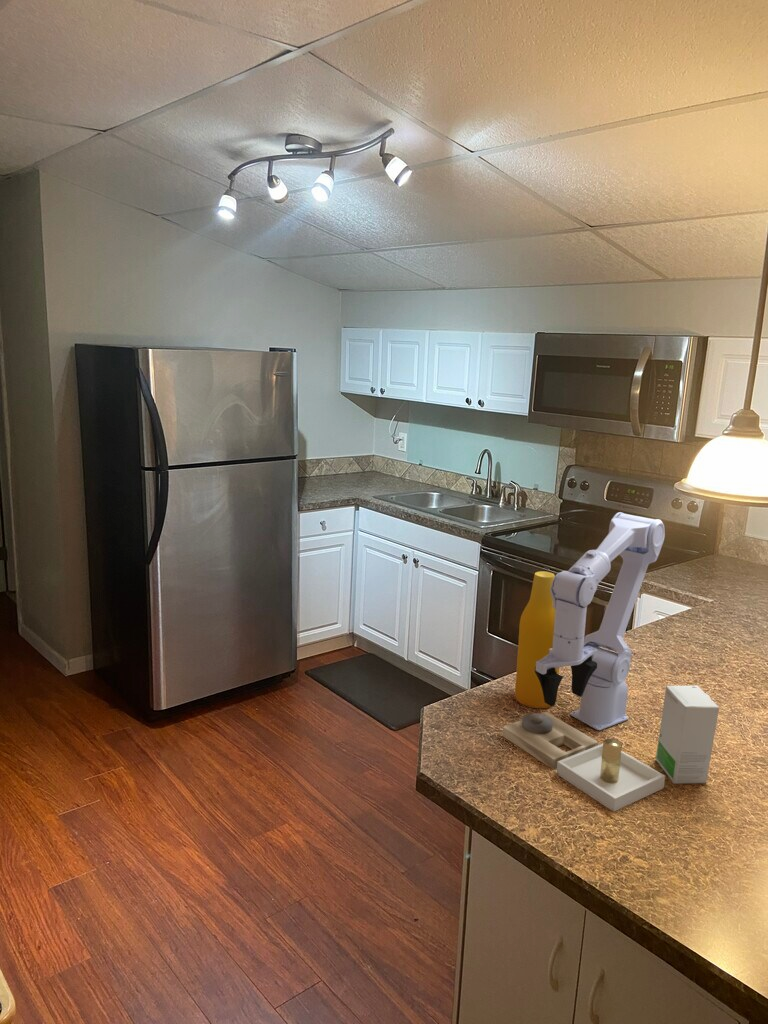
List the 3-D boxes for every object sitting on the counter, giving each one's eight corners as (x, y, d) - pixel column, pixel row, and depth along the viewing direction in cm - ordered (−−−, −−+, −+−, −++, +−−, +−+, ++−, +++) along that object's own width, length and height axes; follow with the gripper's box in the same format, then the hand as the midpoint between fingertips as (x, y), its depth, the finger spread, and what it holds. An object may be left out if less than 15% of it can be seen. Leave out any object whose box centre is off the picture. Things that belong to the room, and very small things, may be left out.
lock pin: (604, 771, 137) (607, 736, 135) (621, 777, 134) (624, 742, 133) (597, 778, 134) (600, 743, 133) (613, 785, 132) (617, 749, 131)
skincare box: (654, 759, 142) (663, 684, 138) (688, 759, 142) (697, 683, 139) (674, 785, 134) (684, 705, 130) (710, 784, 134) (720, 705, 130)
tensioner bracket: (545, 720, 156) (546, 702, 155) (597, 751, 144) (599, 732, 143) (502, 735, 149) (503, 717, 148) (553, 769, 138) (554, 749, 137)
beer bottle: (529, 712, 159) (538, 582, 152) (506, 693, 167) (514, 570, 161) (565, 705, 162) (576, 578, 156) (541, 687, 171) (550, 566, 164)
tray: (605, 753, 143) (606, 742, 143) (663, 788, 133) (665, 775, 132) (556, 773, 136) (557, 761, 136) (613, 811, 125) (615, 798, 125)
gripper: (579, 620, 149) (574, 682, 152) (526, 634, 141) (521, 699, 144) (607, 631, 143) (601, 696, 146) (553, 646, 135) (548, 715, 138)
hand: (563, 699), depth 145 cm, fingers open, 7 cm apart
